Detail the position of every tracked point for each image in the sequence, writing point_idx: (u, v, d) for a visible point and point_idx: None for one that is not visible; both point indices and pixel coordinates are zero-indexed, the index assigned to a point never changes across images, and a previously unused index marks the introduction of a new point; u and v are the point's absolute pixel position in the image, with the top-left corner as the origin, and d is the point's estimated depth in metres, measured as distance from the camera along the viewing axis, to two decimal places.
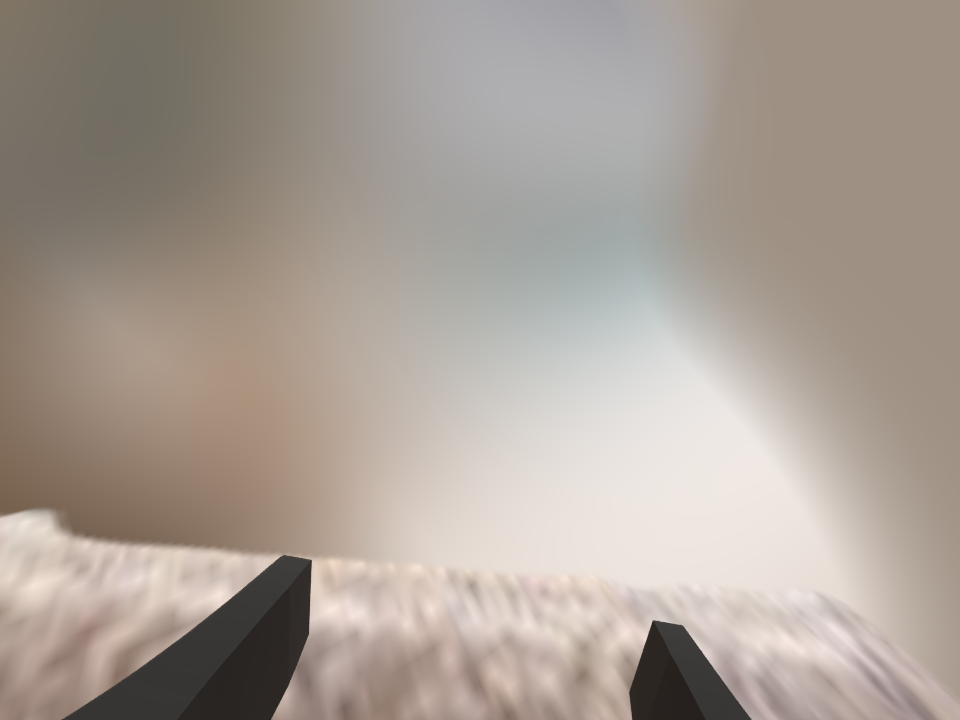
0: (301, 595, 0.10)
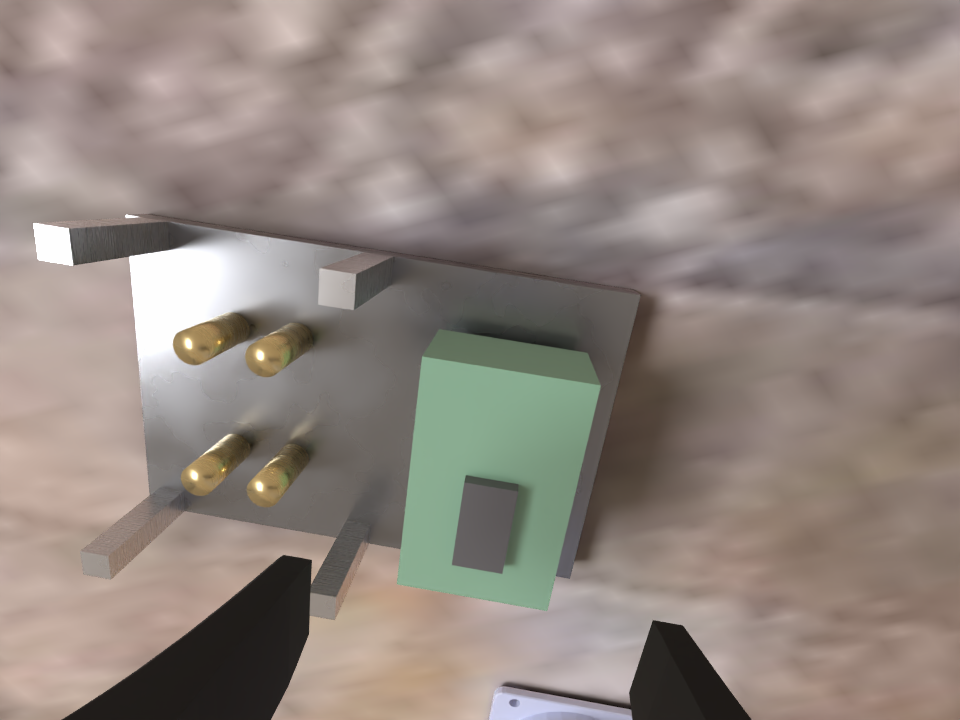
0: (301, 595, 0.10)
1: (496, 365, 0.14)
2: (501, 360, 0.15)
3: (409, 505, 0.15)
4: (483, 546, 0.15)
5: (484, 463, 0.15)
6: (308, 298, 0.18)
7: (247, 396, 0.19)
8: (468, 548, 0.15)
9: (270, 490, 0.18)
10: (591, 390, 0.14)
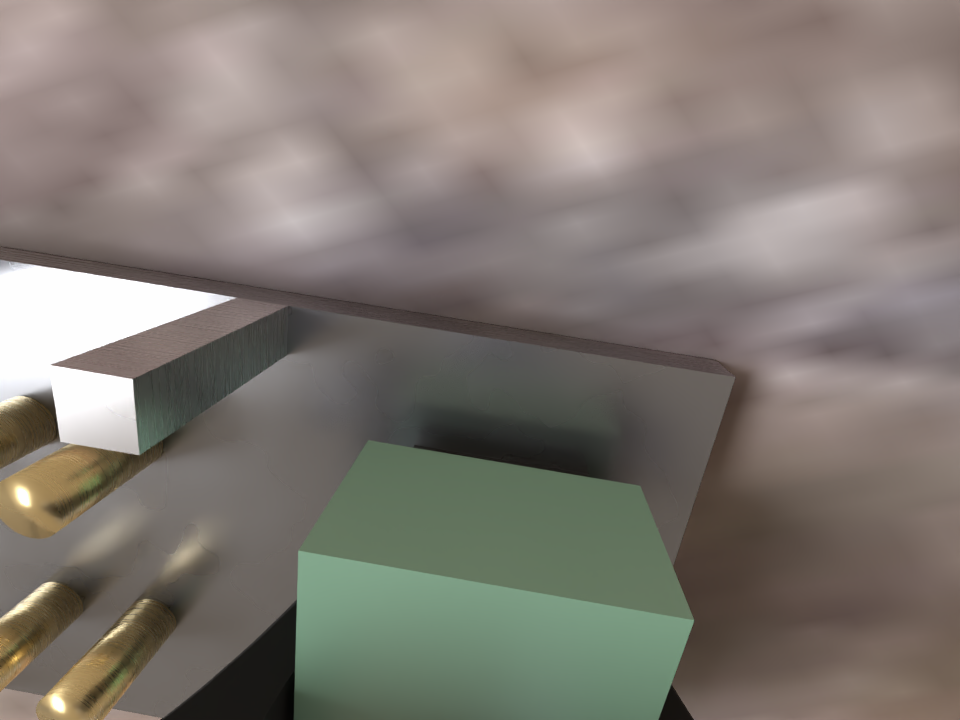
0: None
1: (463, 565, 0.06)
2: (476, 541, 0.07)
3: None
4: None
5: None
6: None
7: (67, 527, 0.12)
8: None
9: (76, 716, 0.10)
10: (672, 628, 0.06)
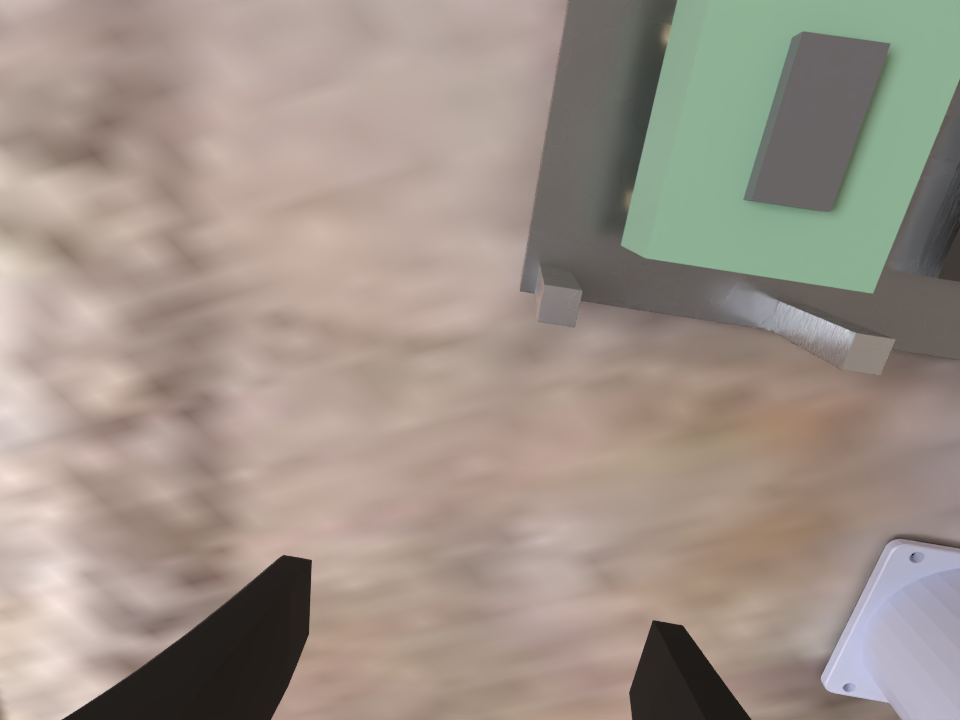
0: (301, 595, 0.10)
1: None
2: None
3: (689, 105, 0.10)
4: (810, 159, 0.10)
5: (828, 9, 0.09)
6: None
7: None
8: (785, 165, 0.10)
9: None
10: None
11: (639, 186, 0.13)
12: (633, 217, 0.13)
